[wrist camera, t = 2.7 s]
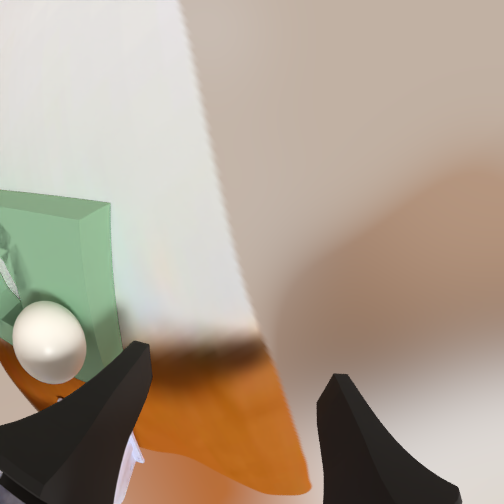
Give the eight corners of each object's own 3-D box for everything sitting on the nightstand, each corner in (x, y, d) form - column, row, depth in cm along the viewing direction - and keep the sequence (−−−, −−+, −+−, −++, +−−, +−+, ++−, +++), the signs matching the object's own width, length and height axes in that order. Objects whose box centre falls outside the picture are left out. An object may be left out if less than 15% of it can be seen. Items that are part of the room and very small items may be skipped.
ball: (105, 356, 11) (74, 412, 8) (51, 335, 11) (16, 380, 8) (92, 296, 10) (44, 354, 6) (34, 277, 9) (-14, 320, 6)
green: (125, 364, 14) (111, 392, 12) (-5, 307, 14) (-21, 322, 12) (110, 203, 10) (78, 220, 8) (-30, 187, 10) (-53, 197, 8)
